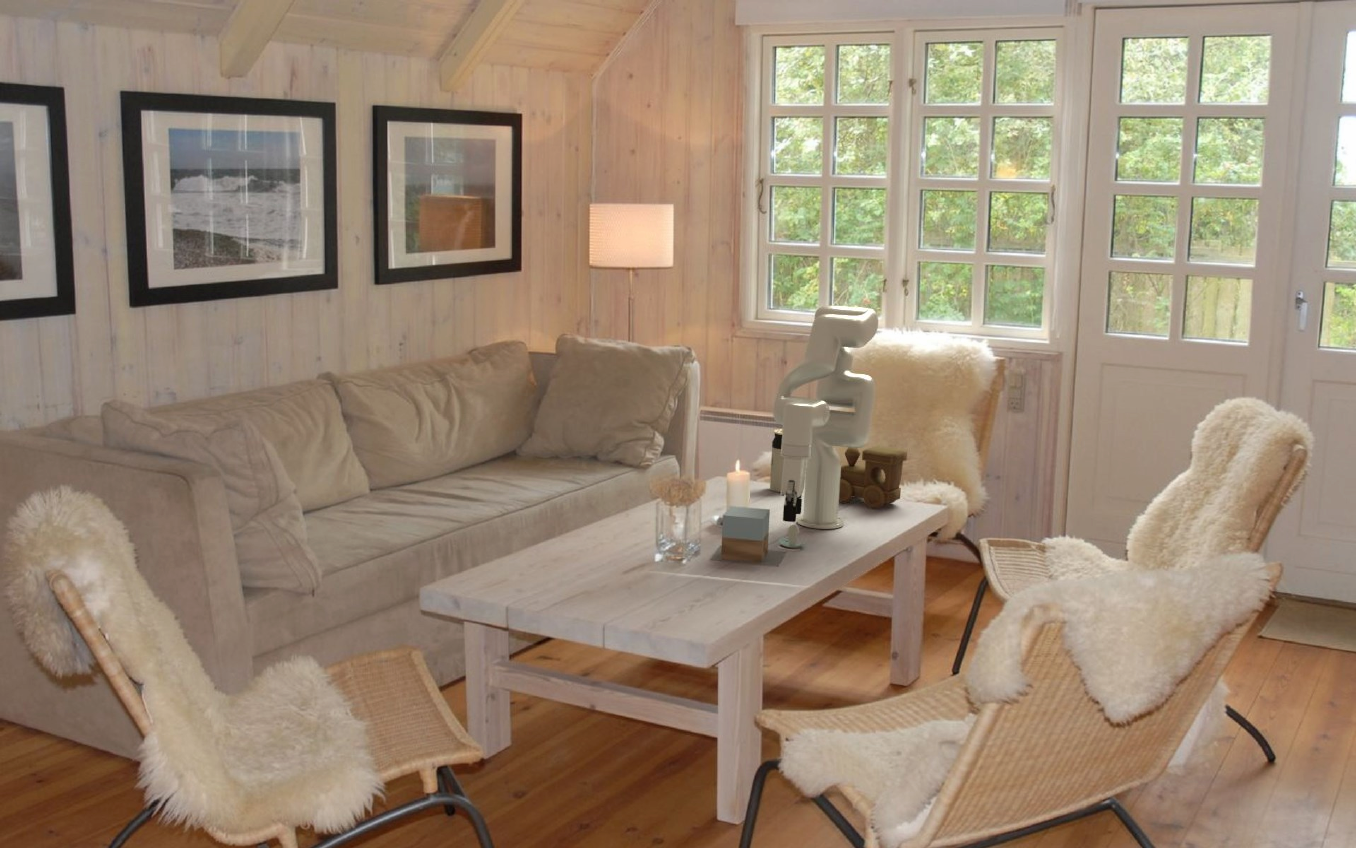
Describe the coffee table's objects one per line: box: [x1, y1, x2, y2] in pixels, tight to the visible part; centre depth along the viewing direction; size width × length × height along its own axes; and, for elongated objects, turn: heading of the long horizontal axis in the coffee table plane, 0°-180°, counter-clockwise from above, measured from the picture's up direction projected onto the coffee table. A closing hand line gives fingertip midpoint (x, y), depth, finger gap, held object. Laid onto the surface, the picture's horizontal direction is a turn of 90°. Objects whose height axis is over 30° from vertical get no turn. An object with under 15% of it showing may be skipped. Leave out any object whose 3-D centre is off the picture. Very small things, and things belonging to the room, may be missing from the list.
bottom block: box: [721, 530, 770, 563], centre depth 347 cm, size 10×10×6 cm
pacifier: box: [777, 524, 807, 552], centre depth 357 cm, size 7×6×6 cm
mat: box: [709, 544, 787, 568], centre depth 348 cm, size 14×17×1 cm
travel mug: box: [769, 428, 785, 493], centre depth 421 cm, size 8×8×18 cm
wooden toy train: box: [839, 446, 908, 510], centre depth 408 cm, size 20×11×17 cm, turn 55°
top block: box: [721, 505, 771, 541], centre depth 346 cm, size 10×10×6 cm
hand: (792, 517), depth 355 cm, fingers open, 9 cm apart
